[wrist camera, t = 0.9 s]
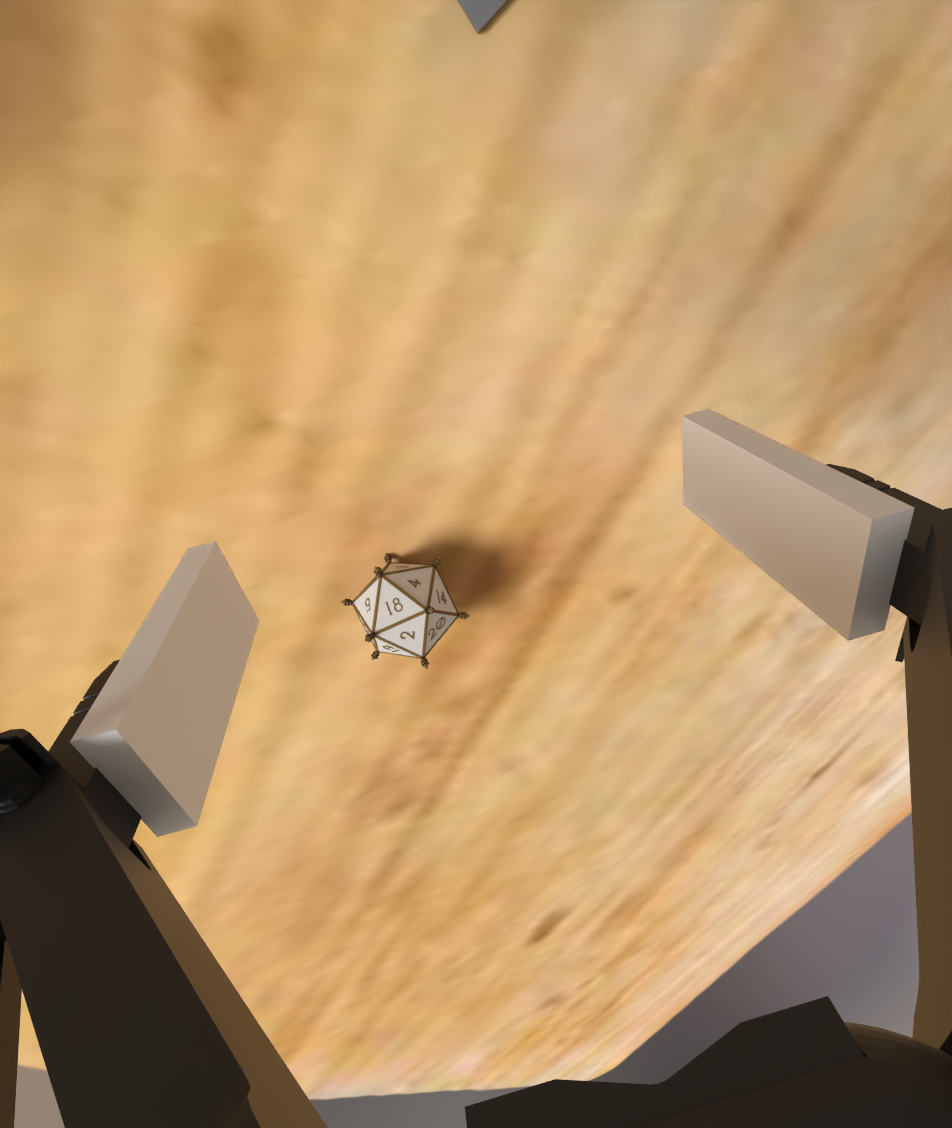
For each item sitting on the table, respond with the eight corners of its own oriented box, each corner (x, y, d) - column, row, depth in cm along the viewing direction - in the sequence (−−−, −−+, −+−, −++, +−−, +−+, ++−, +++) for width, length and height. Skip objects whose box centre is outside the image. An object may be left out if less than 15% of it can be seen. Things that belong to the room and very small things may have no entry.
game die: (404, 539, 47) (457, 527, 39) (446, 624, 49) (506, 630, 40) (312, 588, 43) (347, 586, 34) (361, 679, 45) (406, 699, 36)
